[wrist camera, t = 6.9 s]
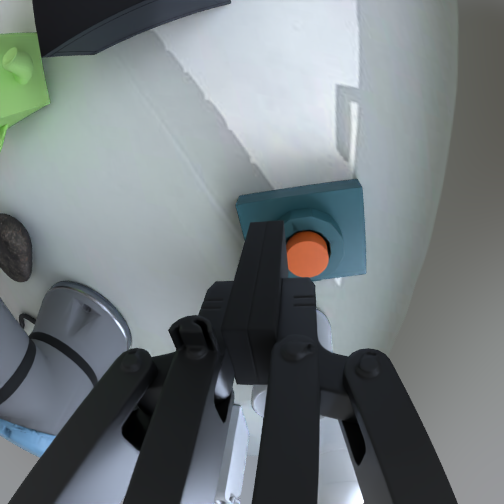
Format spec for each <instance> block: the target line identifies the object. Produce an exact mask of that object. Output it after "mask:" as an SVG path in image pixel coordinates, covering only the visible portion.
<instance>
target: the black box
mask: <svg viewBox="0 0 504 504" xmlns="http://www.w3.org/2000/svg"><path fill="white" fill-rule="evenodd" d="M32 2H33V10H34V18H35V24H36V31H37V37H38V42H39V48H40V53H41V58H45V57H55V56H72V55H95V54H97V53H99V52H101V51H103V50H105V49H107V48H109V47H111V46H113V45H115V44H117V43H119V42H121V41H124V40H126V39H128V38H130V37H133V36H135V35H137V34H140V33H142V32H144V31H147V30H149V29H152V28H154V27H157V26H160V25H162V24H165V23H168V22H170V21H173V20H176V19H179V18H182V17H185V16H188V15H191V14H194V13H197V12H201V11H204V10H208V9H211V8H215V7H218V6H222V5H226V4H230V3H231V0H32Z"/></svg>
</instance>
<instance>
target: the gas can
mask: <svg viewBox="0 0 504 504" xmlns="http://www.w3.org/2000/svg"><path fill="white" fill-rule="evenodd" d="M248 442H249V431H248V428H247V424H246V421H245V418H244V414H243V411H242V408H241V406H239V405H233V408H232V413H231V419H230V424H229V429H228V434H227V440H226V445H225V450H224V455H223V460H222V465H221V470H220V476H219V481H218V486H217V491H216V496H215V501H214V503H217V504H241V503H240V498H239V499H238V500H239V501H237V498H238V496H239V495H240V494H241V489H242V483H243V476H244V469H245V462H246V456H247V449H248Z"/></svg>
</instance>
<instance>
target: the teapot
mask: <svg viewBox="0 0 504 504" xmlns="http://www.w3.org/2000/svg"><path fill="white" fill-rule="evenodd" d="M49 103H50V99H49V94H48V90H47V85H46V80H45V75H44V70H43V65H42V59H41V53H40V48H39V42H38V37H37V32H35V33H9V34H0V152H1V149H2V146H3V142H4V138H5V135H6V131H7V129H8V128H10V127H11V126H13V125H14V124H16V123H17V122H19V121H21V120H22V119H24V118H25V117H27V116H29V115H30V114H32V113H34V112H35V111H37V110H39V109H41V108H42V107H44V106H46V105H48V104H49Z"/></svg>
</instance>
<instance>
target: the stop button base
mask: <svg viewBox="0 0 504 504" xmlns="http://www.w3.org/2000/svg"><path fill="white" fill-rule="evenodd" d="M236 209H237V213H238V217H239V221H240V224H241V228H242V232H243V236H244V240H245V239H246V236H247V232H248V229H249V225H250V222H264V221H280V220H284V228H285V239H286V244H287V242H288V240H289V239H290V238H291V237H292V236H293V235H295V234H296V233H299V232H302V231H311V232H315V233H317V234H319V235H320V236H321V237H322V238H323V239H324V240H325V242H326V245H327V250H328V256H329V261H328V265H327V267H326V268H325V270H324V271H323V272H322V273H320V274H319V275H317V276H314V277H310V279H311V281H319V280H322V279H330V278H338V277H346V276H353V275H361V274H366V240H365V219H364V203H363V190H362V186H361V184H360V183H359V181H358V179H352V180H344V181H336V182H328V183H320V184H313V185H306V186H299V187H292V188H285V189H278V190H272V191H265V192H259V193H253V194H247V195H241V196H239V198H238V200H237V203H236ZM298 277H299V276H296V275H294V274H293V273H292V272H290V270H289V269H288V278H298Z"/></svg>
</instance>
